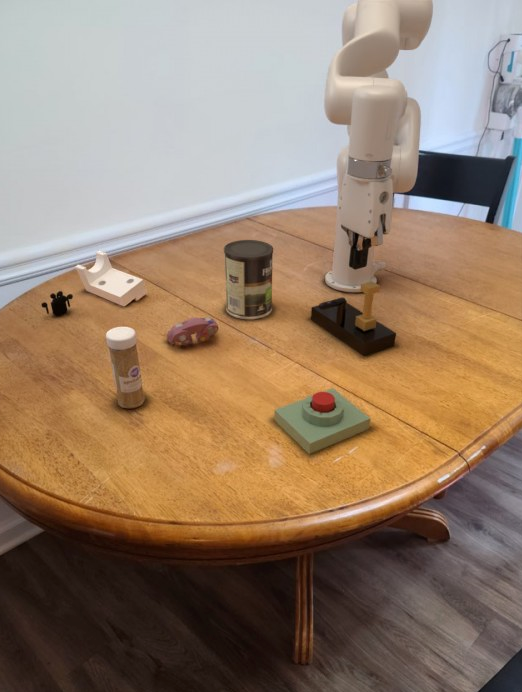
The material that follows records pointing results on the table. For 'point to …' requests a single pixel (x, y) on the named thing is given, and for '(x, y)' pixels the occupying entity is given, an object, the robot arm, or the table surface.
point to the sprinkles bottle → (125, 366)
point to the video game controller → (192, 330)
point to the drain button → (323, 402)
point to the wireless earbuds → (58, 303)
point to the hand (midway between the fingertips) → (357, 266)
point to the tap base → (351, 327)
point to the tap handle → (367, 307)
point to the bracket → (111, 282)
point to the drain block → (321, 422)
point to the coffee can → (248, 279)
